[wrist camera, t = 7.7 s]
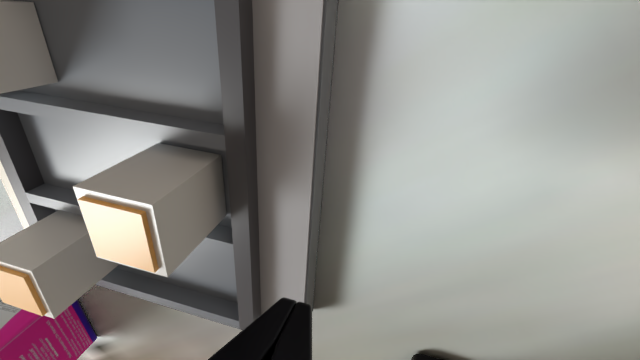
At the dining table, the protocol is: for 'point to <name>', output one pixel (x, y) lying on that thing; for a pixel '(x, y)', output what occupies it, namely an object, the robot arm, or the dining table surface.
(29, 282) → the switch tab
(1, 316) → the supplement box
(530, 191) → the dining table surface
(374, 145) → the dining table surface
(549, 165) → the dining table surface
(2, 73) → the switch tab
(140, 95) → the switch bank
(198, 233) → the switch tab
